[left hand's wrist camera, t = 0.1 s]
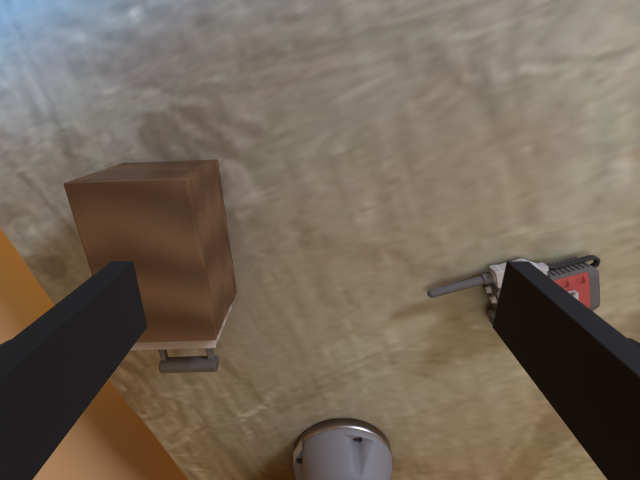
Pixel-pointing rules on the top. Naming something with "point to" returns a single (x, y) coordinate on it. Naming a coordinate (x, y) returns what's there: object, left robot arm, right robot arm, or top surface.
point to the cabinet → (162, 241)
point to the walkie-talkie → (567, 274)
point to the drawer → (185, 363)
